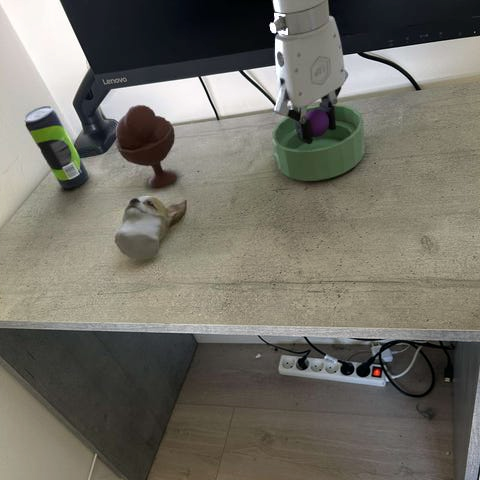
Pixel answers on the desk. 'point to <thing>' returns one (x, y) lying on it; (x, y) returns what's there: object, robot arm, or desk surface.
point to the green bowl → (320, 147)
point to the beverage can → (56, 146)
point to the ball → (318, 122)
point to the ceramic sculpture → (146, 226)
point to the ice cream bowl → (146, 142)
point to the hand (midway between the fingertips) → (317, 133)
